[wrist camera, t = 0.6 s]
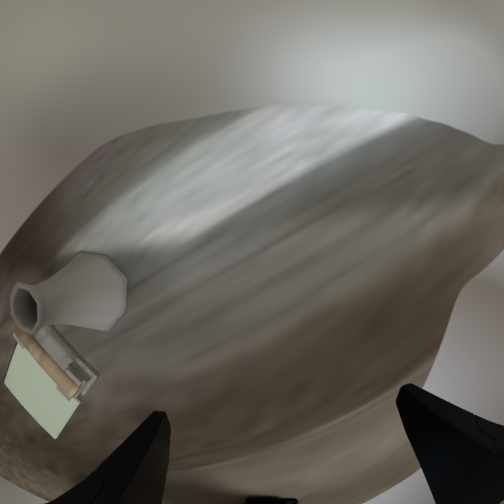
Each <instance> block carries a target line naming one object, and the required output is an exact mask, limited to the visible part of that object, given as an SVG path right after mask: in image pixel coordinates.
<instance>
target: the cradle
mask: <svg viewBox="0 0 504 504" xmlns="http://www.w3.org/2000/svg"><path fill="white" fill-rule="evenodd" d="M13 337H14V338H15V339H16V341H17V342H18V343H19V345H20V346H21V348H22V349H24V348H25V347H24V345H23V344H22V343H21V341H20V340H19V339H18V337H17V336H16V334H15V333H14V334H13ZM34 337H35V338H36V339H37V341H38V342H39V343H40V344H41V346H42V347H43V348H44V349H45V350H46V352H47V353H48V354H49V355H50V356H51V357H52V359H53V360H54V361H55V362H56V363H57V364H58V365H59V366H60V367H61V368H62V370H63V371H64V372H65V373H66V374H67V375H68V376H69V377H70V378H71V379H72V380H73V381H74V382H75V383H76V384H77V385H78V386H79V387H80V390H79V391H78V392H77V394H76V395H75V396H74V398H75V399H76V398H77V397H79V396H80V395H81V394H82V395H83V396H85V395H86V394H87V392H88V391H89V389H90V388H91V387H92V385H93V384H94V382H95V381H96V380H97V378H98V377H99V375H100V374H99V373H98V372H97V371H96V370H95V369H94V368H93V367H91V366H90V365H89V364H88V363H87V362H86V361H85V360H84V359H83V358H82V357H81V355H80V354H79V353H78V352H77V351H76V350H75V349H74V348H73V347H72V346H71V345H70V344H69V343H68V342H67V340H66V339H65V338H64V337H63V336H62V335H61V334H60V333H59V331H58V330H57V329H56V328H55V327H54V326H53V325H47V326H44V327H41V328H40V330H39V331H38V333H37V334H36V335H34ZM56 389H57V390H58V391H59V392H60V393H61V394H62V395H63V396H64V397H65V398H66V399H67V400H68V401H70V400H71V399H72V398H69V397H68V396H67V395H66V394H65V393H64V392H63V390H62V389H61V388H60V387H59V386H58V385H57V387H56Z"/></svg>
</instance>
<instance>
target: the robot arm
mask: <svg viewBox="0 0 504 504" xmlns="http://www.w3.org/2000/svg"><path fill="white" fill-rule="evenodd" d="M396 405H397V408H398V411H399V414H400V417H401V420H402V423H403V426H404V429H405V432H406V434H407V437H408V439H409V441H410V443H411V445H412V448H413V450H414V452H415V454H416V457H417V459H418V461H419V463H420V466H421V468H422V470H423V473H424V475H425V478H426V480H427V482H428V485H429V487H430V490H431V492H432V495H433V497H434V500H435V503H436V504H504V426H503V425H499V424H496V423H493V422H491V421H488V420H486V419H484V418H481V417H479V416H477V415H474V414H473V413H470V412H468V411H466V410H464V409H462V408H460V407H458V406H456V405H454V404H452V403H450V402H447V401H445V400H443V399H441V398H439V397H437V396H435V395H433V394H431V393H429V392H427V391H425V390H423V389H421V388H420V387H418V386H416V385H414V384H411V383H409V384H406V385H403V386H402V387H401V388H400V391H399V393H398V396H397V398H396ZM170 433H171V427H170V423H169V420H168V418H167V415H166V413H165V412H164V411H153V412H152V413H151V414H150V415H149V416H148V417H147V418H146V419H145V420H144V421H143V422H142V423H141V424H140V425H139V426H138V428H137V429H136V430H135V431H134V432H133V433H132V434H131V435H130V436H129V437H128V438H127V439H126V440H125V441H124V442H123V443H122V444H121V445H120V446H119V447H118V448H117V449H116V450H115V451H113V452H112V453H111V454H110V455H109V456H108V457H107V458H106V459H105V460H104V461H103V462H102V463H101V464H100V465H99V467H97V468H96V469H95V470H94V471H93V472H92V473H90V474H89V475H88V476H87V477H86V478H85V479H84V480H82V481H81V482H80V483H78V484H77V485H76V486H74V487H73V488H71V489H70V490H68V491H67V492H65V493H64V494H62V495H61V496H59V497H58V498H56V499H55V500H53V501H51V502H49V503H45V504H161V503H162V497H163V492H164V486H165V481H166V475H167V470H168V464H169V448H170ZM244 504H298V500H297V499H259V498H247V499H246V501H245V503H244Z"/></svg>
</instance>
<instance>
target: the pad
mask: <svg viewBox="0 0 504 504" xmlns="http://www.w3.org/2000/svg"><path fill="white" fill-rule="evenodd" d="M4 383H5V385H6V386H7V387H8V388H9V390H10V391H11V392H12V394H13V395H14V396H15V397H16V398H17V400H18V401H19V402H20V403H21V404H22V405H23V407H24V408H25V409H26V410H27V411H28V412H29V413H30V414H31V416H32V417H33V418H34V419H35V420H36V421H37V422H38V423H39V424H40V425H41V426H42V427H43V428H44V429H45V430H46V431H47V432H48V433H49V434H50V435H51V436H52V437H53V438H54V439H56V438H57V437H58V435H59V434H60V432H61V431H62V429H63V428H64V426H65V425H66V423H67V422H68V420H69V419H70V417H71V416H72V414H73V413H74V411H75V410H76V408H77V407H78V405H79V404H80V402H81V401H79V400H78V399H77V398H76V399H75V398H74V397H73V398H72V399H71V400H70V401H68V400H67V399H66V398H65V397H64V396H63V395H62V394H61V393H60V392H59V391H58V390H57V389H56V387H57V384H56V383H55V382H54V381H53V380H52V379H51V378H50V377H49V376H48V374H47V373H46V372H45V371H44V370H43V369H42V368H41V366H40V365H39V364H38V363H37V362H36V360H35V359H34V358H33V357H32V356H31V354H30V353H29V352H28V350H27V349H26V348H24V349H22V348H21V346H20V345H19V343H18V344H17V346H16V349H15V352H14V354H13V357H12V360H11V363H10V366H9V369H8V372H7V375H6V378H5V382H4Z"/></svg>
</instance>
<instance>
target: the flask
mask: <svg viewBox="0 0 504 504" xmlns="http://www.w3.org/2000/svg"><path fill="white" fill-rule="evenodd" d="M127 280H128V279H127V278H126V276H125V275H124V274H123V273H122V272H121V271H120V270H119V269H118V268H117V266H116V265H115V264H114V263H113V262H112V261H111V260H110V258H109V257H108V256H107V255H101V254H94V253H88V252H80V253H79V254H78V255H77V256H75V257H74V258H73V259H72V260H71V261H70V262H69V263H68V264H67V265H65V266H64V267H63V268H62V269H60V270H59V271H58V272H57V273H56V274H54V275H53V276H52V277H51V278H49V279H47V280H45V281H43V282H41V283H39V284H36V285H28V284H24V283H21V282H17V283H16V285H15V287H14V289H13V291H12V293H11V295H10V307H11V316H12V318H13V319H14V321H15V322H16V324H17V326H18V327H19V329H20V330H21V331H23V332H25V333H28V334H30V335H33V336H34V335H36V334H37V333H38V331H39V330H40V328H41V327H44V326H47V325H54V324H68V325H74V326H80V327H86V328H91V329H96V330H100V331H106V332H109V331H110V329H111V328H112V327H113V326H114V325H115V323H116V322H117V321H118V320H119V318H120V317H121V316H122V315H123V314H124V312H125V311H126V294H127Z"/></svg>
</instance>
